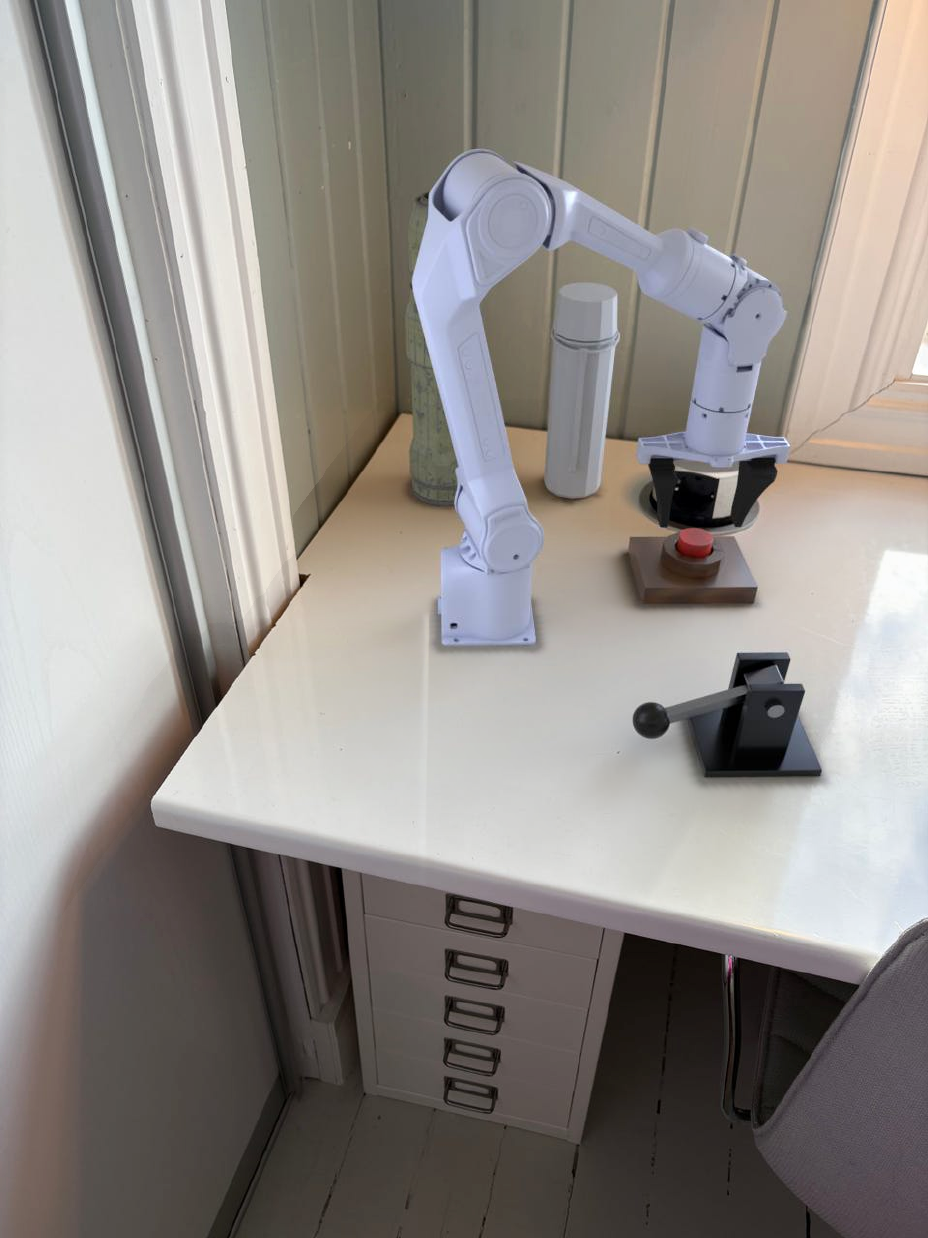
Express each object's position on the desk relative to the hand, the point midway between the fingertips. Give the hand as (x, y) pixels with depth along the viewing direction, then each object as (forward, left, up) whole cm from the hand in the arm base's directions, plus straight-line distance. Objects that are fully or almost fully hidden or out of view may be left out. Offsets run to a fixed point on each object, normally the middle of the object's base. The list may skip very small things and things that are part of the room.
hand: (699, 522), depth 96 cm
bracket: (+1, -24, -9) cm, 25 cm away
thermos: (-26, +22, -9) cm, 36 cm away
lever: (-3, -24, -5) cm, 24 cm away
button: (+1, +2, -5) cm, 6 cm away
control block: (+1, +2, -9) cm, 9 cm away
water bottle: (-10, +21, -9) cm, 25 cm away
